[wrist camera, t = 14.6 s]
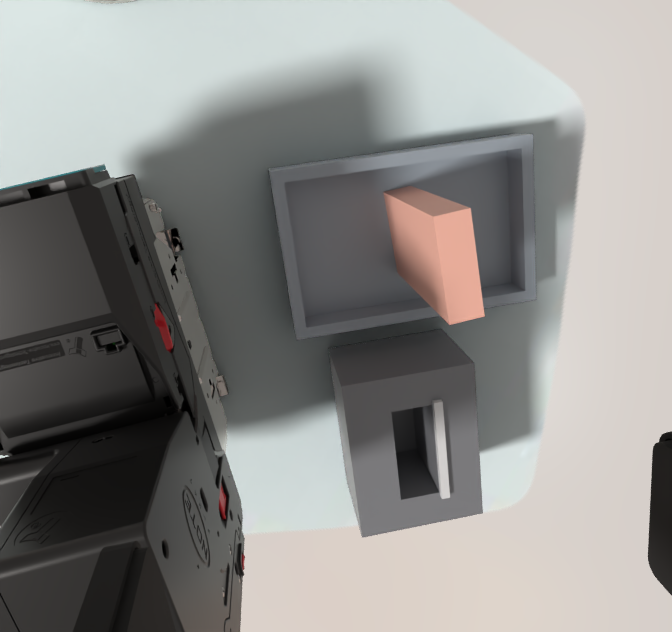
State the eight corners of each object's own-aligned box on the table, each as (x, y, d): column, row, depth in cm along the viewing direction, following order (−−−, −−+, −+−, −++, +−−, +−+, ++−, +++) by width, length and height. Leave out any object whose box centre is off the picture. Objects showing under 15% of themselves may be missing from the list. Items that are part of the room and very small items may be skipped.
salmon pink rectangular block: (383, 192, 41) (433, 216, 30) (410, 185, 41) (470, 207, 30) (397, 273, 43) (449, 325, 32) (423, 266, 43) (484, 316, 32)
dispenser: (328, 348, 45) (342, 389, 38) (441, 329, 46) (476, 365, 39) (347, 481, 49) (363, 541, 42) (451, 461, 50) (484, 516, 43)
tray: (268, 168, 40) (269, 171, 38) (514, 133, 42) (533, 134, 39) (293, 326, 44) (296, 340, 41) (518, 289, 46) (536, 299, 43)
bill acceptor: (157, 150, 39) (16, 186, 16) (249, 444, 47) (248, 769, 23) (-1, 188, 38) (-400, 285, 15) (117, 479, 46) (-22, 851, 22)
